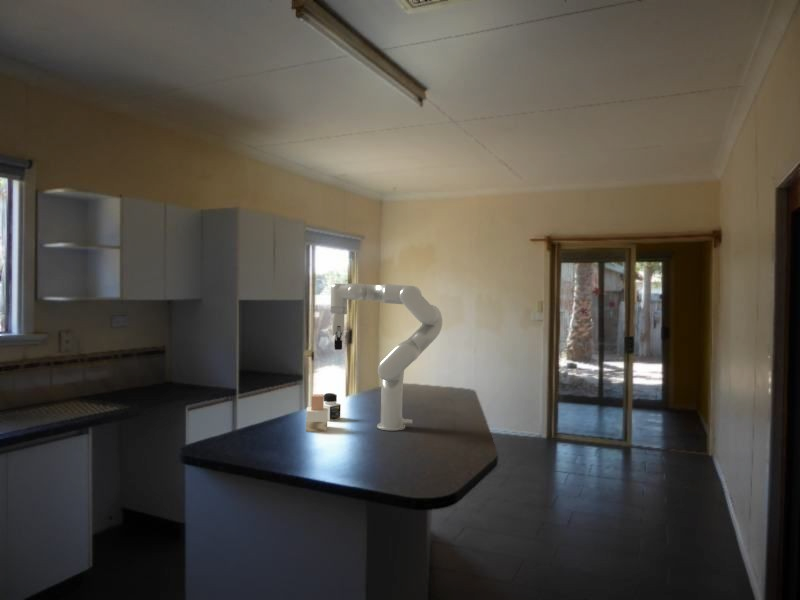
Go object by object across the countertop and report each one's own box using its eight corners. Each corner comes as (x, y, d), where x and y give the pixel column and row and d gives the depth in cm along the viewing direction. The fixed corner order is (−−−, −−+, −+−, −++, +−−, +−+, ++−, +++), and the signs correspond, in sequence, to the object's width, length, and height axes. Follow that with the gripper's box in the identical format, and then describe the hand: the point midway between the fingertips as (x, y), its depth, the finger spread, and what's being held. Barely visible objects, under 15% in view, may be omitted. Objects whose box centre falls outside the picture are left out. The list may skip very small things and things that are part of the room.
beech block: (327, 427, 249) (327, 417, 249) (327, 432, 240) (327, 421, 240) (306, 427, 248) (306, 417, 248) (305, 432, 239) (306, 421, 239)
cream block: (327, 417, 249) (327, 407, 249) (327, 421, 240) (327, 411, 240) (306, 417, 248) (306, 407, 248) (306, 421, 239) (306, 411, 239)
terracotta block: (323, 408, 247) (323, 394, 247) (323, 410, 242) (323, 396, 242) (311, 407, 246) (312, 394, 246) (311, 410, 241) (311, 396, 241)
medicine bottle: (329, 421, 259) (330, 395, 259) (318, 419, 263) (319, 393, 263) (340, 419, 265) (341, 393, 265) (329, 416, 269) (330, 391, 269)
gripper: (330, 310, 262) (329, 346, 262) (330, 311, 245) (329, 350, 245) (346, 310, 263) (345, 346, 263) (348, 311, 246) (347, 350, 246)
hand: (338, 348), depth 254 cm, fingers open, 9 cm apart
